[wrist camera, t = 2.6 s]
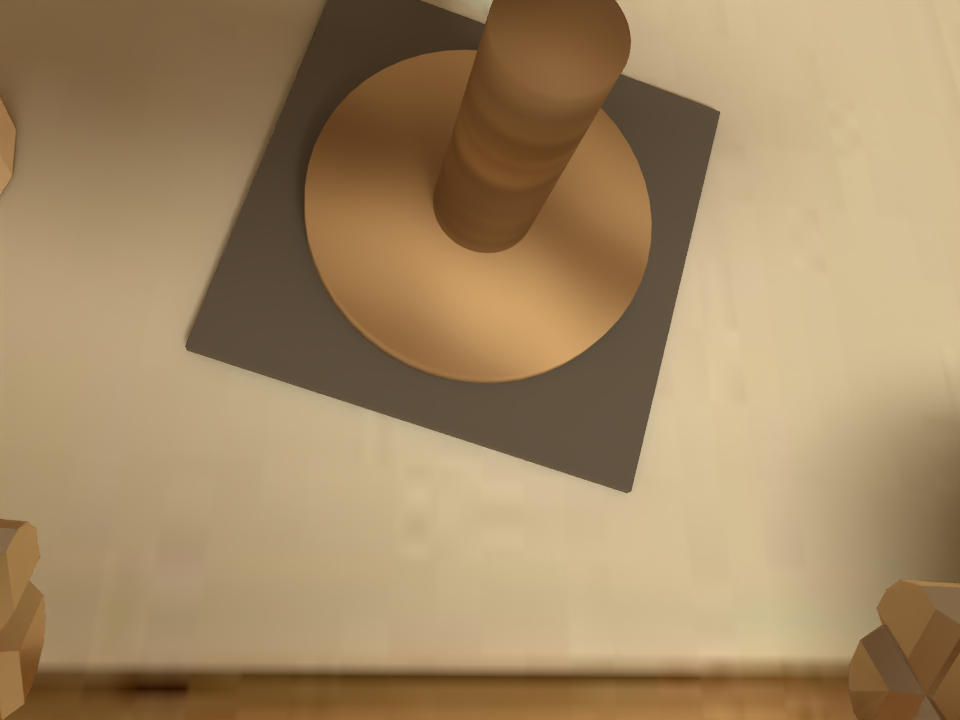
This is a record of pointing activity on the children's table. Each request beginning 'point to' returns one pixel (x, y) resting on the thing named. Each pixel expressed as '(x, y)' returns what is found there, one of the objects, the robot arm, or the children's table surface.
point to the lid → (485, 198)
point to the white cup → (6, 146)
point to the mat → (385, 381)
